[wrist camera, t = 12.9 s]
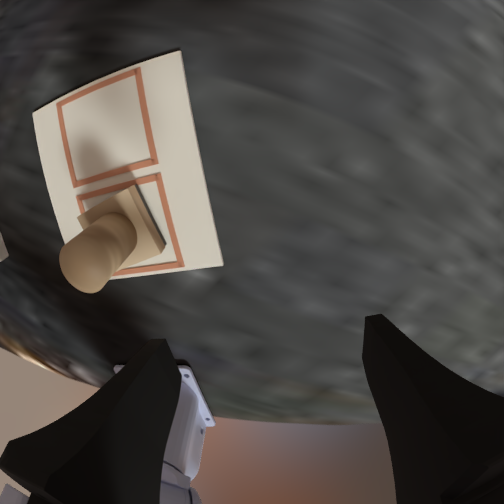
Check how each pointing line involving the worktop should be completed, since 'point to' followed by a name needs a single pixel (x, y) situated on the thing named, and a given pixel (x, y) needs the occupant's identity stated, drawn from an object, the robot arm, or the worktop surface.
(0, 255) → the ink pad
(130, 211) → the stamp
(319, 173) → the worktop surface
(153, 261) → the card sheet
